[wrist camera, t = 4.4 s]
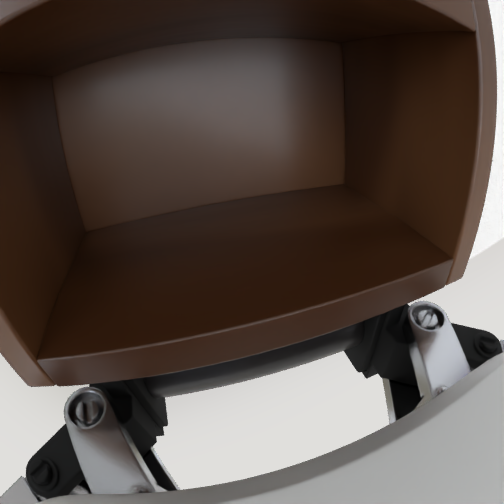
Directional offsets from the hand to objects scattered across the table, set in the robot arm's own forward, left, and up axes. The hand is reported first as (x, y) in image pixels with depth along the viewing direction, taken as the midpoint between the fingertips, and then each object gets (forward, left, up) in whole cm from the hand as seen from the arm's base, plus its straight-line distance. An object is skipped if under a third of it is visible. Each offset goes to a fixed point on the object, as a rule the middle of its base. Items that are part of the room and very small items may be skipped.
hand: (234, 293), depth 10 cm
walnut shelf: (0, +7, -1) cm, 7 cm away
